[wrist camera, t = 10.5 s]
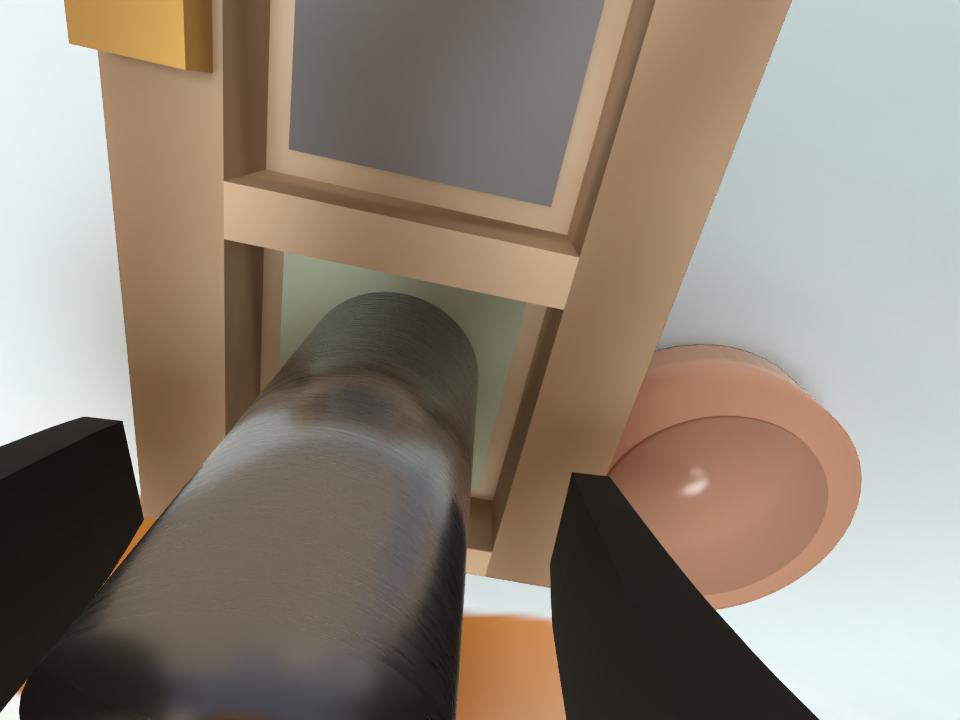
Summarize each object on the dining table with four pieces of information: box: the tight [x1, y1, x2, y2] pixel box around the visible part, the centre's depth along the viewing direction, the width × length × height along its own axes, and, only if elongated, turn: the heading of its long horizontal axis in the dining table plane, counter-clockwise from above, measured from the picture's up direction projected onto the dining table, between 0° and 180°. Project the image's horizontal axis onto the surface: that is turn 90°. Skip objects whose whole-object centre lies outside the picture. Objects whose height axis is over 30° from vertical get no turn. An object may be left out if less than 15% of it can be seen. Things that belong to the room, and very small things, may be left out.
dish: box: [606, 345, 861, 610], centre depth 13 cm, size 7×7×2 cm
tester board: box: [64, 0, 792, 588], centre depth 10 cm, size 10×15×4 cm, turn 168°
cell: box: [19, 292, 478, 720], centre depth 8 cm, size 4×4×9 cm
